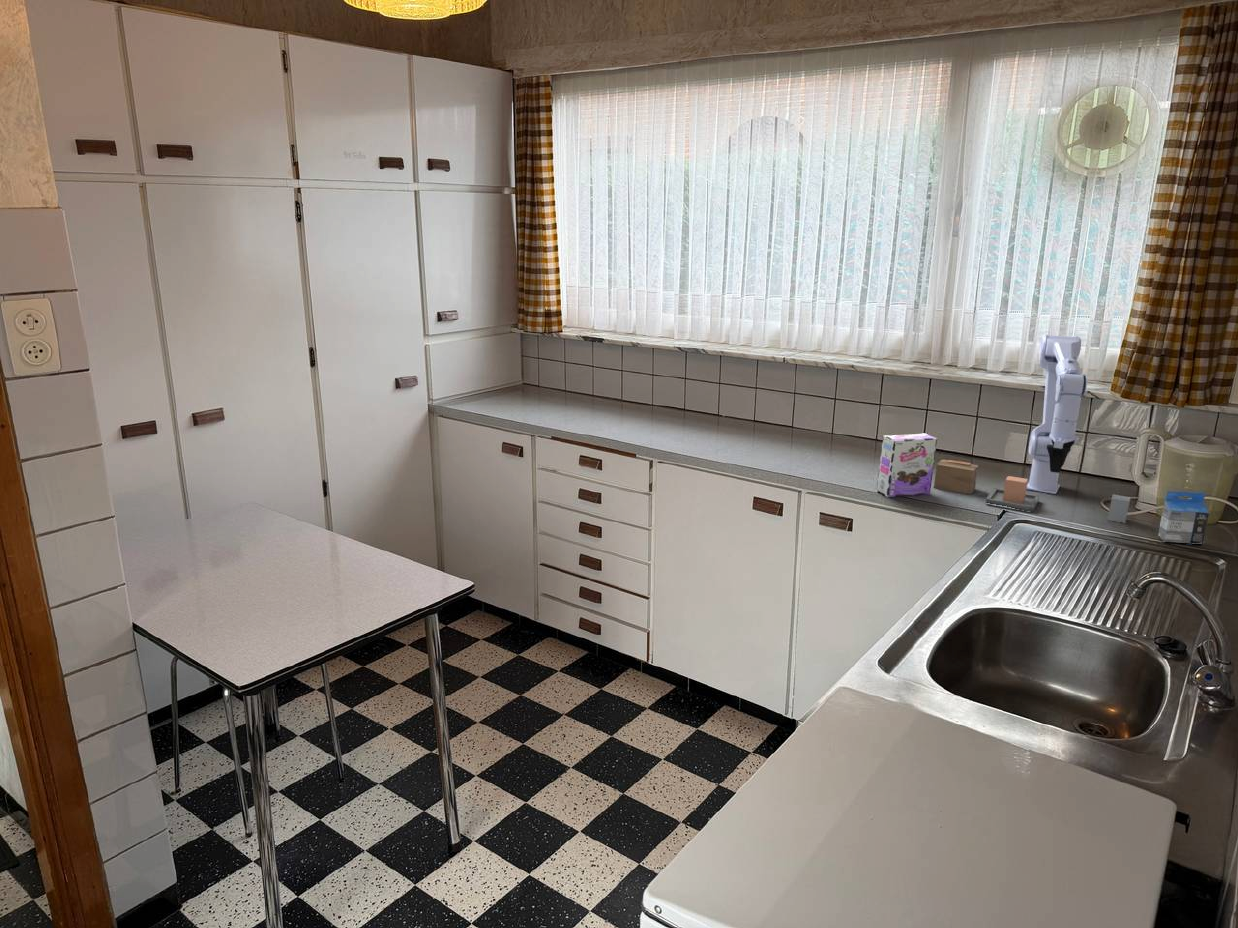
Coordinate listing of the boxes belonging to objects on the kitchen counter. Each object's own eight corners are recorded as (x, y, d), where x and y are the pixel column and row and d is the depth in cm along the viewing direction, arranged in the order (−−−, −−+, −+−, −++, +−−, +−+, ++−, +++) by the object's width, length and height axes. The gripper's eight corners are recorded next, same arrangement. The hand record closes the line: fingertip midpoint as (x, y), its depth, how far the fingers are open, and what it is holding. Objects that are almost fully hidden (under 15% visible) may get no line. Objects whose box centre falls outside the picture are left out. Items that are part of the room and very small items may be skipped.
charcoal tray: (993, 493, 245) (994, 488, 245) (1038, 501, 239) (1039, 495, 239) (985, 504, 236) (986, 498, 235) (1032, 513, 230) (1033, 507, 229)
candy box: (887, 498, 239) (893, 440, 235) (875, 491, 245) (881, 434, 240) (930, 494, 243) (938, 437, 238) (918, 488, 248) (925, 432, 244)
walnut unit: (939, 482, 254) (942, 458, 252) (975, 488, 249) (978, 463, 247) (933, 487, 249) (937, 463, 247) (970, 494, 244) (974, 469, 242)
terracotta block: (1005, 496, 240) (1008, 475, 238) (1024, 500, 237) (1028, 479, 236) (1002, 500, 237) (1005, 479, 235) (1022, 504, 234) (1025, 482, 232)
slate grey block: (1108, 515, 229) (1112, 494, 227) (1126, 519, 227) (1130, 497, 225) (1107, 520, 226) (1111, 498, 224) (1125, 523, 224) (1129, 501, 222)
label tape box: (1163, 543, 211) (1174, 495, 207) (1156, 537, 214) (1166, 490, 211) (1203, 546, 209) (1214, 497, 206) (1194, 540, 213) (1205, 492, 210)
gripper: (1079, 426, 221) (1070, 477, 225) (1085, 416, 233) (1076, 464, 237) (1048, 422, 225) (1040, 473, 229) (1056, 412, 237) (1047, 460, 240)
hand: (1056, 468), depth 233 cm, fingers open, 7 cm apart
